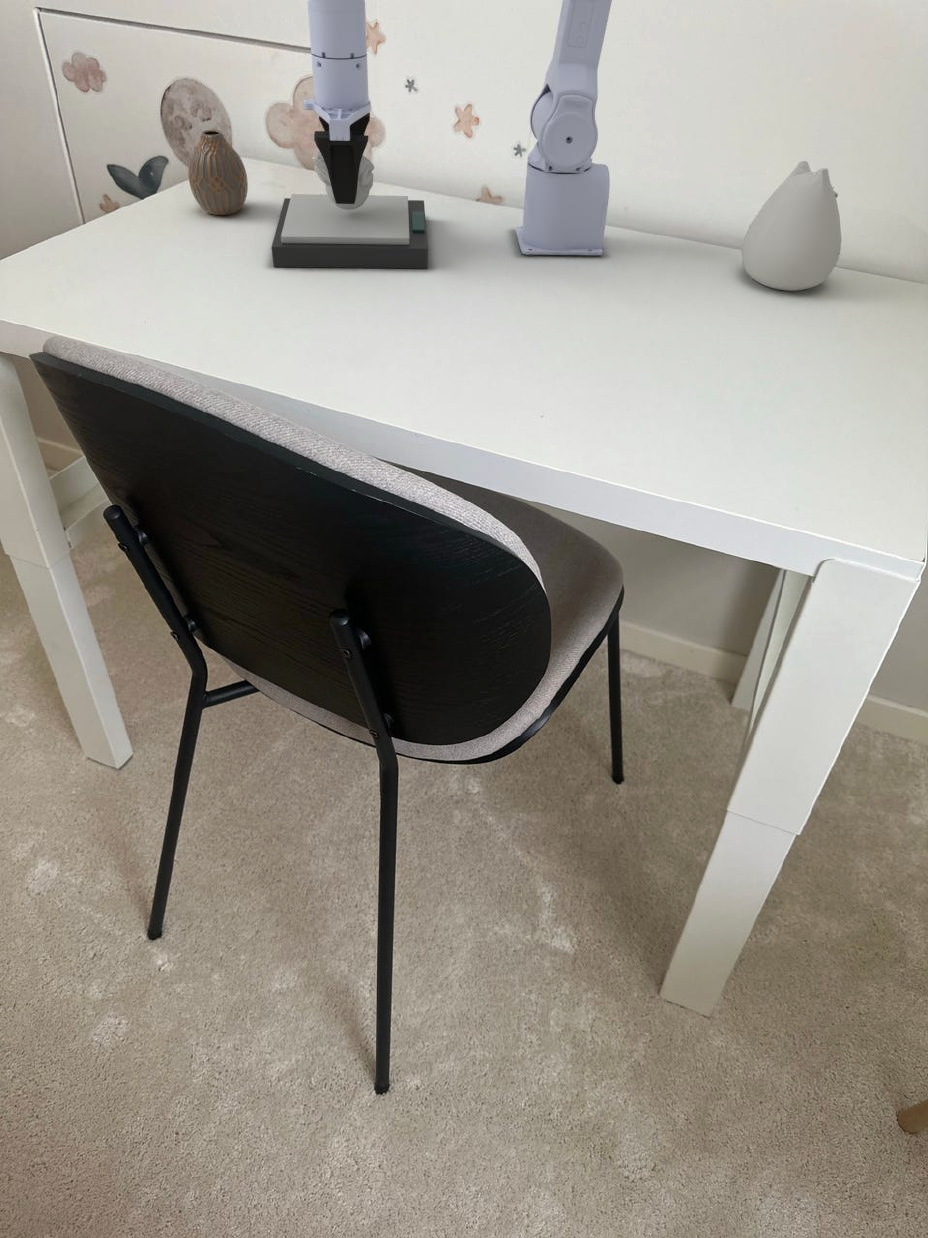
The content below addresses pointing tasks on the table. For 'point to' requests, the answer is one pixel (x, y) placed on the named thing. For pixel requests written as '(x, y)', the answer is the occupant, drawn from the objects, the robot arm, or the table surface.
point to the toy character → (795, 233)
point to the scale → (351, 233)
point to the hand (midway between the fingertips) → (346, 192)
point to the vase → (217, 175)
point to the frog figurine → (363, 181)
